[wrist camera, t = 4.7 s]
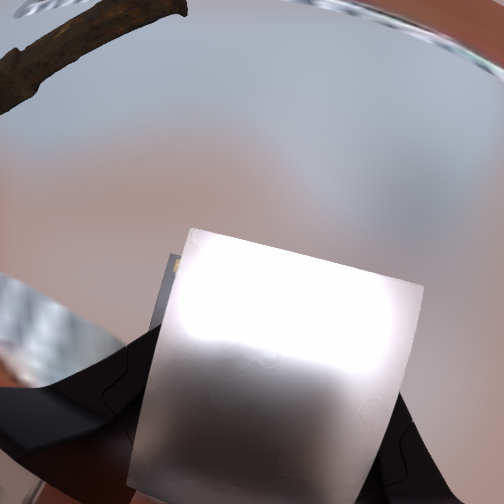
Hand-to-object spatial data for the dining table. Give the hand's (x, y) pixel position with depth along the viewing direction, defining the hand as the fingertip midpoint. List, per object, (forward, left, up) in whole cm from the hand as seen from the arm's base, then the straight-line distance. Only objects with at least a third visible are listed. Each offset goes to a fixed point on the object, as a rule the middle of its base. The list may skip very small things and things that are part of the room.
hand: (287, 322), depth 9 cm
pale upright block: (-1, +1, -4) cm, 4 cm away
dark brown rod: (+25, +13, -7) cm, 29 cm away
